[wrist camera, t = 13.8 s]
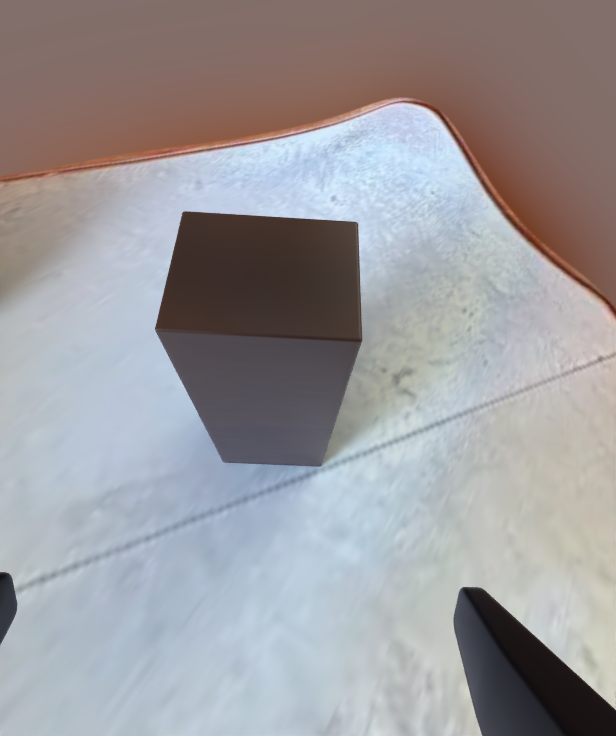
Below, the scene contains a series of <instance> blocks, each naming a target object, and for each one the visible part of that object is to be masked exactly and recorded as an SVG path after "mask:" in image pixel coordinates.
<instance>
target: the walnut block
mask: <svg viewBox="0 0 616 736" xmlns="http://www.w3.org/2000/svg"><path fill="white" fill-rule="evenodd" d="M155 330H156V333H157V335H158V337H159V339H160V340H161V342H162V344H163V346H164V348H165V350H166V352H167V354H168V356H169V358H170V360H171V362H172V364H173V366H174V368H175V370H176V371H177V373H178V375H179V377H180V379H181V381H182V383H183V385H184V387H185V389H186V391H187V393H188V395H189V397H190V399H191V400H192V402H193V404H194V406H195V408H196V410H197V412H198V414H199V416H200V418H201V420H202V422H203V424H204V426H205V428H206V430H207V431H208V433H209V435H210V437H211V439H212V441H213V443H214V445H215V447H216V449H217V451H218V453H219V455H220V457H221V459H222V461H223V462H226V463H249V464H273V465H296V466H321V465H322V462H323V459H324V456H325V452H326V449H327V446H328V443H329V440H330V437H331V434H332V431H333V428H334V425H335V422H336V419H337V416H338V413H339V409H340V406H341V403H342V400H343V397H344V394H345V391H346V388H347V385H348V382H349V379H350V376H351V373H352V370H353V366H354V363H355V360H356V357H357V354H358V351H359V348H360V345H361V342H362V321H361V293H360V265H359V237H358V223H357V222H348V221H332V220H316V219H299V218H283V217H267V216H251V215H235V214H219V213H202V212H186V211H185V212H183V213H182V217H181V222H180V226H179V230H178V234H177V239H176V243H175V247H174V251H173V255H172V260H171V264H170V268H169V272H168V277H167V281H166V285H165V289H164V294H163V298H162V302H161V306H160V310H159V315H158V319H157V323H156V327H155Z"/></svg>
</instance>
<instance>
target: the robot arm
mask: <svg viewBox="0 0 616 736" xmlns="http://www.w3.org/2000/svg"><path fill="white" fill-rule="evenodd" d="M16 611H17V600H16V595H15V590H14V585H13V580H12V577H11V575H10V574H9V573H6V572H0V645H1V643H2V641H3V639H4V637H5V635H6V633H7V631H8V629H9V627H10V625H11V623H12V621H13V619H14V617H15V615H16ZM454 630H455V634H456V638H457V642H458V646H459V650H460V654H461V658H462V662H463V666H464V670H465V674H466V678H467V682H468V686H469V690H470V694H471V699H472V703H473V706H474V710H475V714H476V717H477V720H478V724H479V727H480V730H481V733H482V736H616V710H615V709H614V708H613V707H612V706H611V705H610V704H609V703H608V702H606V701H605V700H604V699H603V698H602V697H601V696H600V695H599V694H598V693H597V692H595V691H594V690H593V689H592V688H591V687H590V686H589V685H588V684H587V683H586V682H585V681H583V680H582V679H581V678H580V677H579V676H578V675H577V674H576V673H575V672H574V671H573V670H571V669H570V668H569V667H568V666H567V665H566V664H565V663H564V662H563V661H562V660H560V659H559V658H558V657H557V656H556V655H555V654H554V653H553V652H552V651H551V650H550V649H548V648H547V647H546V646H545V645H544V644H543V643H542V642H541V641H540V640H539V639H537V638H536V637H535V636H534V635H533V634H532V633H531V632H530V631H529V630H528V629H527V628H525V627H524V626H523V625H522V624H521V623H520V622H519V621H518V620H517V619H516V618H515V617H513V616H512V615H511V614H510V613H509V612H508V611H507V610H506V609H505V608H504V607H502V606H501V605H500V604H499V603H498V602H497V601H496V600H495V599H494V598H493V597H492V596H490V595H489V594H488V593H487V592H486V591H485V590H483V589H482V588H479V587H463V588H461V589H460V591H459V595H458V600H457V604H456V609H455V613H454Z"/></svg>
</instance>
